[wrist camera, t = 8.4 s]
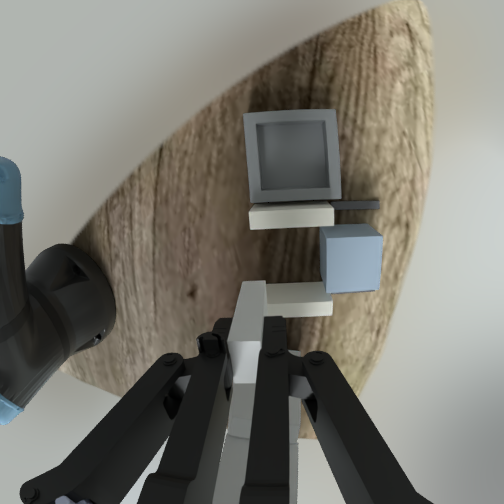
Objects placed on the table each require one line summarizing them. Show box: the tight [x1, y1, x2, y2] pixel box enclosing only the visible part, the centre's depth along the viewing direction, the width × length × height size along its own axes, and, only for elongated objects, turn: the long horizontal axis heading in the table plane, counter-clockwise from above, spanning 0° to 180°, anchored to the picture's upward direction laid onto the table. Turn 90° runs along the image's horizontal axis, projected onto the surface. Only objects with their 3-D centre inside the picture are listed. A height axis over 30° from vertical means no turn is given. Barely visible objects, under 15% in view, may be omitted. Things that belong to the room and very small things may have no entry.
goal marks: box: [331, 201, 379, 294], centre depth 27 cm, size 5×10×1 cm, turn 5°
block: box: [319, 224, 383, 293], centre depth 25 cm, size 5×5×5 cm
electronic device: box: [212, 350, 301, 504], centre depth 20 cm, size 12×8×30 cm, turn 173°
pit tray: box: [243, 109, 341, 203], centre depth 24 cm, size 8×8×3 cm
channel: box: [249, 201, 334, 318], centre depth 26 cm, size 7×10×4 cm
